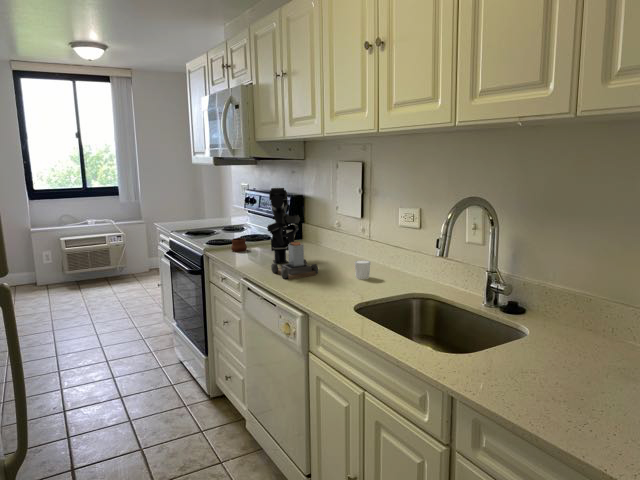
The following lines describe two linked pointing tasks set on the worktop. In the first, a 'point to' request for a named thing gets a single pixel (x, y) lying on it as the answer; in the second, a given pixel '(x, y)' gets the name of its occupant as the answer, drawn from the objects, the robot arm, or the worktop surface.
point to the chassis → (295, 270)
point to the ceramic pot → (238, 245)
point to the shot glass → (362, 269)
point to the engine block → (296, 255)
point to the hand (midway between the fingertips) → (287, 245)
